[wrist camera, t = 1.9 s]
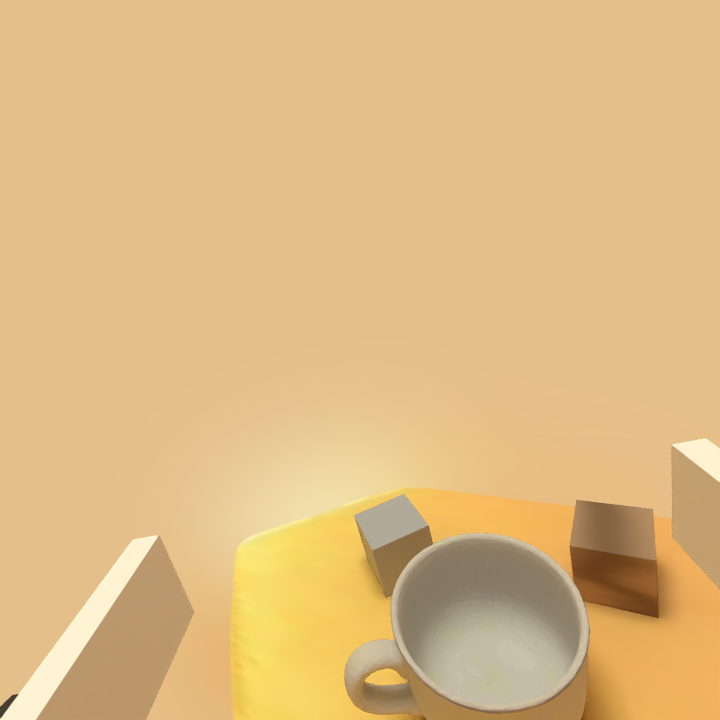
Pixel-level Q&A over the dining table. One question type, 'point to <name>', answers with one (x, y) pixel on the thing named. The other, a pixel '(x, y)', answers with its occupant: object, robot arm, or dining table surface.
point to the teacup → (479, 637)
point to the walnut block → (615, 556)
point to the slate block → (392, 538)
